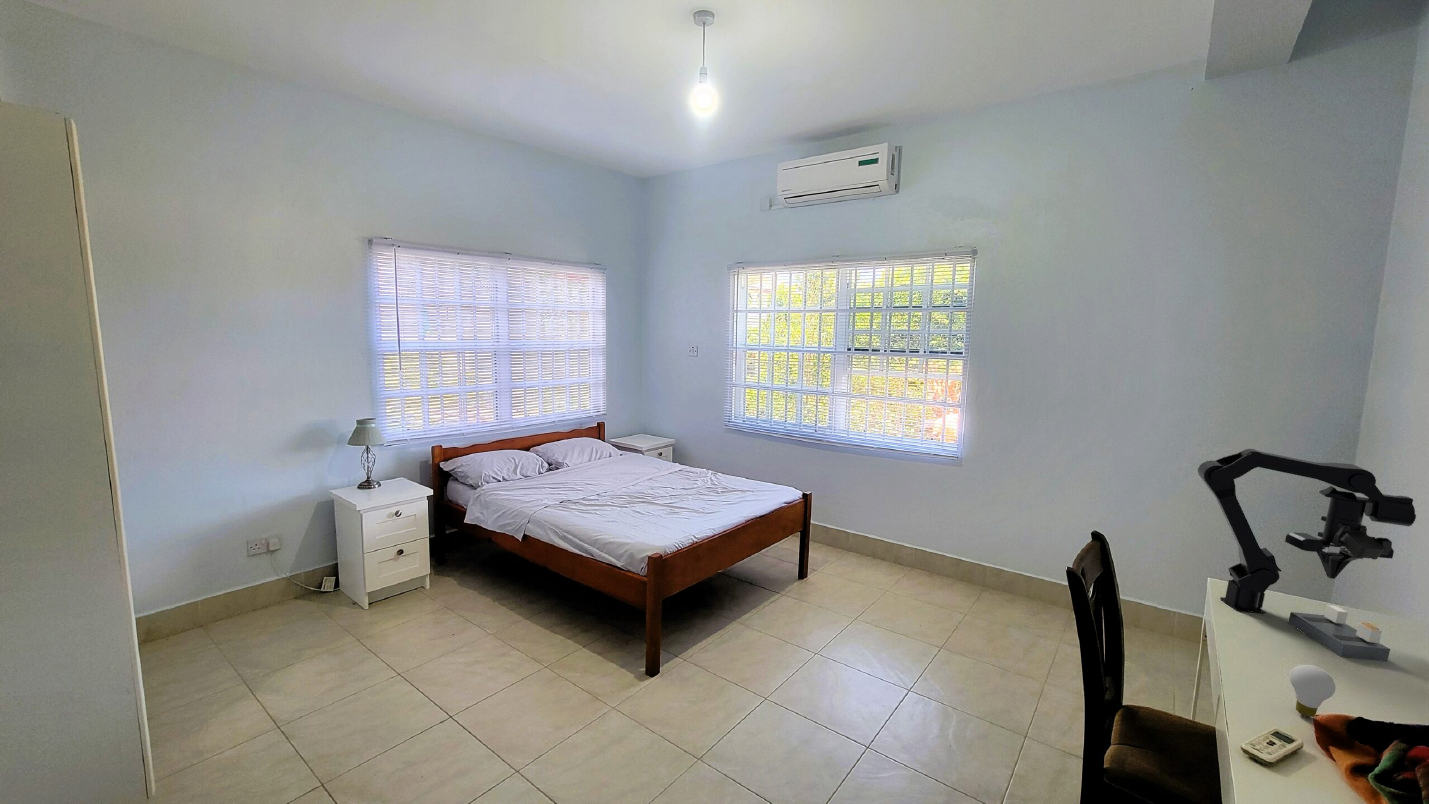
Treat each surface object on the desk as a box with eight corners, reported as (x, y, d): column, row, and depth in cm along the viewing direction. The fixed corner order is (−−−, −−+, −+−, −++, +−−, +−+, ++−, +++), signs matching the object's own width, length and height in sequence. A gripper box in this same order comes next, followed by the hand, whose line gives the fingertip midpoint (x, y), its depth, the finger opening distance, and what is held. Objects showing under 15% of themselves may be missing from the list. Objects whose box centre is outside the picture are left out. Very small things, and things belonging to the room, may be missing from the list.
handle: (1335, 622, 135) (1338, 611, 135) (1324, 616, 138) (1326, 604, 138) (1345, 623, 135) (1347, 612, 134) (1333, 617, 138) (1336, 605, 137)
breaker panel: (1340, 656, 127) (1343, 644, 127) (1288, 623, 141) (1290, 611, 140) (1387, 661, 126) (1390, 648, 126) (1329, 627, 140) (1332, 615, 139)
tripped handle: (1368, 642, 127) (1371, 628, 127) (1355, 634, 130) (1358, 621, 130) (1379, 643, 127) (1382, 629, 127) (1365, 635, 130) (1369, 622, 130)
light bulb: (1336, 729, 104) (1348, 679, 102) (1298, 724, 105) (1309, 674, 103) (1310, 708, 110) (1320, 660, 108) (1274, 702, 111) (1284, 655, 109)
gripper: (1329, 525, 131) (1315, 589, 133) (1425, 533, 128) (1409, 598, 130) (1289, 509, 141) (1277, 568, 144) (1377, 516, 139) (1363, 576, 141)
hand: (1330, 577), depth 140 cm, fingers closed
